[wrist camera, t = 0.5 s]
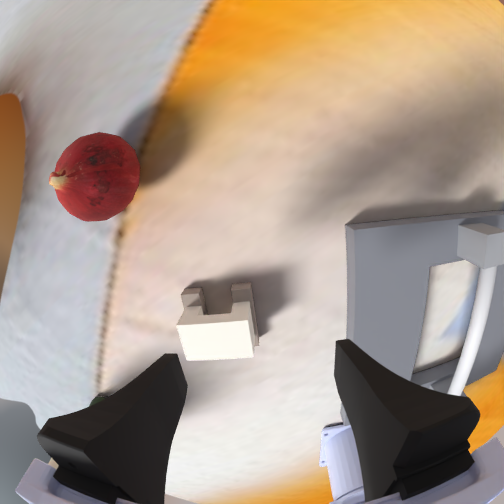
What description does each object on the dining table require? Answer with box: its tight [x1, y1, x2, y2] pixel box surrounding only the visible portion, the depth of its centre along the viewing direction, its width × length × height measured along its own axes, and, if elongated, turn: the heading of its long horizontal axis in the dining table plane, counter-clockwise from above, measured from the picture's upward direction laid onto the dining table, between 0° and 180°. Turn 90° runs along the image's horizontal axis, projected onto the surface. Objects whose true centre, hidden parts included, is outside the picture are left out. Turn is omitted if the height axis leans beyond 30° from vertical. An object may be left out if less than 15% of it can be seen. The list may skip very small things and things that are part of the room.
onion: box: [49, 132, 140, 221], centre depth 15 cm, size 6×6×8 cm
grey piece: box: [341, 210, 504, 426], centre depth 18 cm, size 20×22×6 cm
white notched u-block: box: [176, 282, 259, 361], centre depth 19 cm, size 5×5×4 cm
